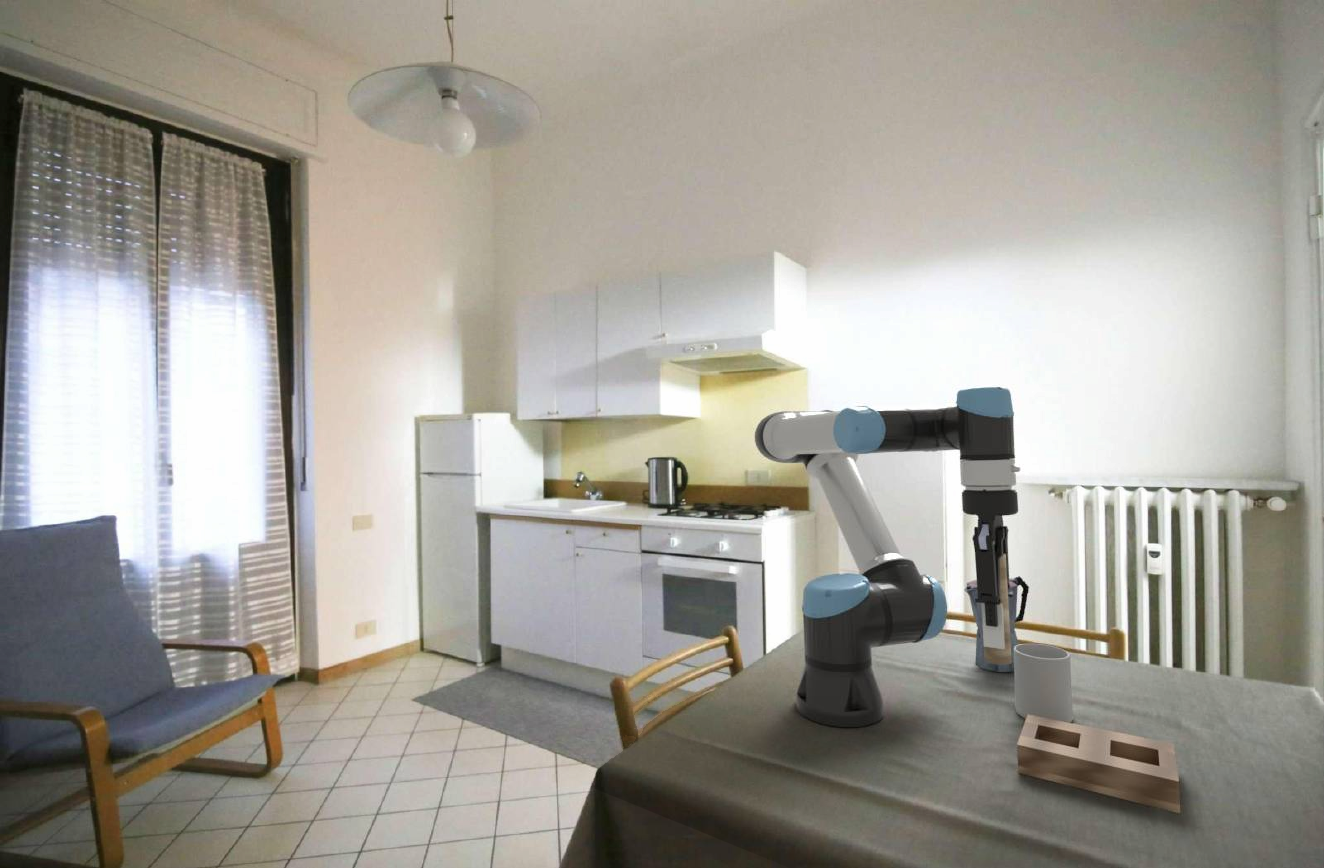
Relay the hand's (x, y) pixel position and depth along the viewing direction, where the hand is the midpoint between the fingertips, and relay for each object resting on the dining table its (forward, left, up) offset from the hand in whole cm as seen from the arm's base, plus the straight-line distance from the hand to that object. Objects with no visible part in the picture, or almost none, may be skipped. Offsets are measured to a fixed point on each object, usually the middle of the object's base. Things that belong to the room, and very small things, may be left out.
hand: (997, 643), depth 95 cm
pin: (0, 0, -3) cm, 3 cm away
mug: (+3, +21, -17) cm, 28 cm away
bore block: (+12, +2, -17) cm, 21 cm away
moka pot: (-6, +42, -17) cm, 46 cm away
